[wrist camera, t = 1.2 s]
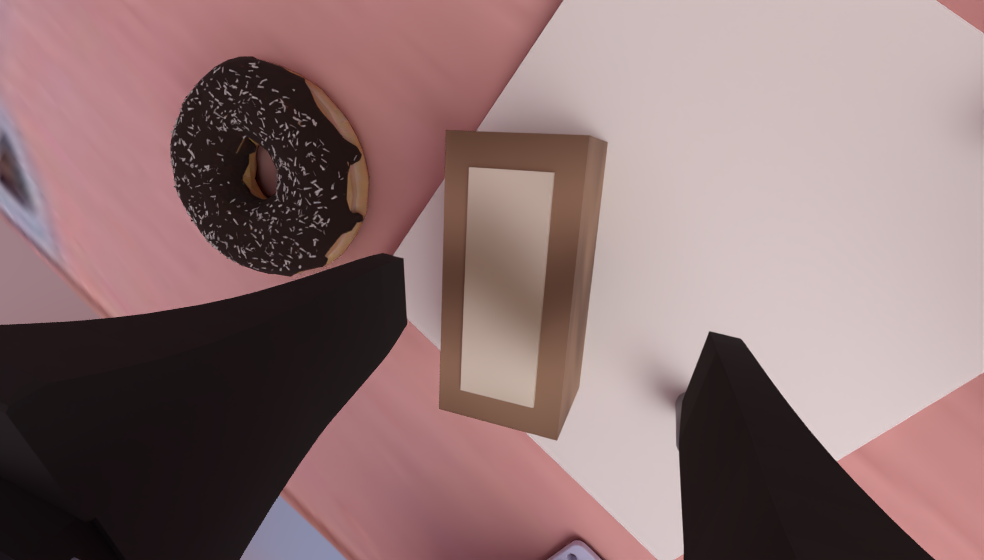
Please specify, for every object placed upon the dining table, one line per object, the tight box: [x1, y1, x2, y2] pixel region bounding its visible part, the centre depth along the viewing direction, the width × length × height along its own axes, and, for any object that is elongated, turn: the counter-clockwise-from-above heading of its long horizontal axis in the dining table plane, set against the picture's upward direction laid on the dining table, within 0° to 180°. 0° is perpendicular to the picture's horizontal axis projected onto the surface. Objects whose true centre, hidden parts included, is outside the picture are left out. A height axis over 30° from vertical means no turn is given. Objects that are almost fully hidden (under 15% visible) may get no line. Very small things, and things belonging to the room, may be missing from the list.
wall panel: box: [393, 0, 984, 560], centre depth 17 cm, size 22×20×4 cm
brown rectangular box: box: [439, 130, 608, 441], centre depth 18 cm, size 11×5×5 cm, turn 177°
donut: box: [170, 57, 369, 276], centre depth 24 cm, size 11×12×4 cm
